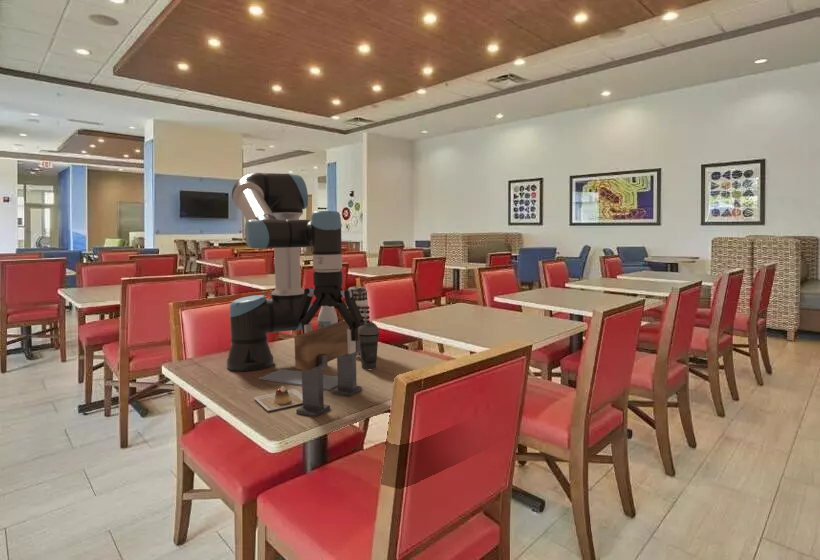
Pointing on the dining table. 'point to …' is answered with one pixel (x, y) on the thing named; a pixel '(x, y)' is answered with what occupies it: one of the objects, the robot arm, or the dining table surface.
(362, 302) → the decorative candle
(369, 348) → the beverage cup
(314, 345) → the rail
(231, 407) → the dining table surface
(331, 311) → the milk bottle
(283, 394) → the dessert
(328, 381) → the mat
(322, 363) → the standards
